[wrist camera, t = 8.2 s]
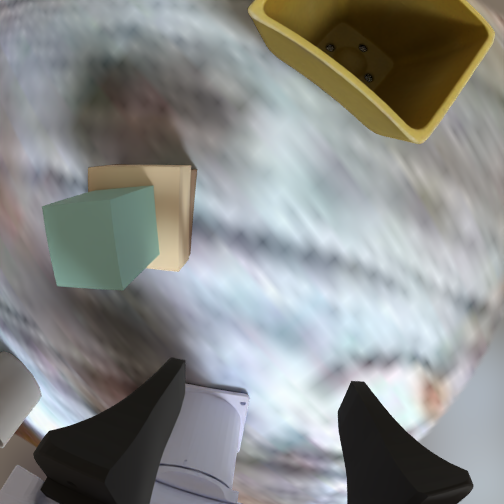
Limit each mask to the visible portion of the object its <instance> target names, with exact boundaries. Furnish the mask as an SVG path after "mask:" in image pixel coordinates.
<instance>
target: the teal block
mask: <svg viewBox="0 0 504 504" xmlns="http://www.w3.org/2000/svg"><path fill="white" fill-rule="evenodd" d="M42 209H43V216H44V223H45V230H46V235H47V241H48V247H49V252H50V257H51V262H52V266H53V271H54V275H55V279H56V283H57V286H62V287H75V288H90V289H106V290H124V289H125V288H126V287H127V286H128V285H129V284H130V283H131V282H132V281H133V280H134V279H135V278H136V277H137V276H138V275H139V274H140V273H141V272H142V271H143V270H144V269H145V268H146V267H147V266H148V265H149V264H150V263H151V262H152V261H153V260H154V259H155V258H156V257H157V256H158V255H159V254H160V252H159V242H158V233H157V223H156V211H155V199H154V186H153V185H151V186H138V187H126V188H115V189H105V190H95V191H91V192H88V193H84V194H81V195H77V196H74V197H71V198H67V199H64V200H61V201H58V202H55V203H51V204H48V205H45V206H42Z"/></svg>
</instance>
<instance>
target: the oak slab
mask: <svg viewBox="0 0 504 504" xmlns="http://www.w3.org/2000/svg"><path fill="white" fill-rule="evenodd" d="M190 178H191V165H105V166H97V167H89V168H88V192H91V191H95V190H105V189H115V188H126V187H138V186H151V185H153V186H154V199H155V211H156V223H157V233H158V242H159V252H160V254H159V255H158V256H157V257H156V258H155V259H154V260H153V261H152V262H151V263H150V264H149V265H148V266H147V267H146V268H149V269H158V270H167V271H177V272H179V271H180V269H181V268H182V267H183V266H184V264H185V263H186V262H187V261H188V259H189V207H190Z"/></svg>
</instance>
